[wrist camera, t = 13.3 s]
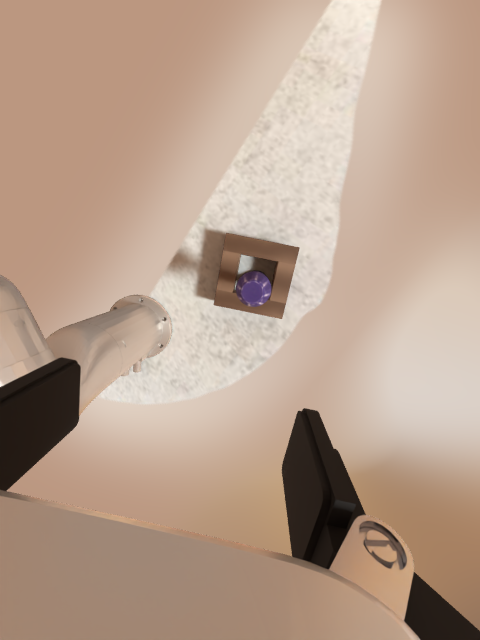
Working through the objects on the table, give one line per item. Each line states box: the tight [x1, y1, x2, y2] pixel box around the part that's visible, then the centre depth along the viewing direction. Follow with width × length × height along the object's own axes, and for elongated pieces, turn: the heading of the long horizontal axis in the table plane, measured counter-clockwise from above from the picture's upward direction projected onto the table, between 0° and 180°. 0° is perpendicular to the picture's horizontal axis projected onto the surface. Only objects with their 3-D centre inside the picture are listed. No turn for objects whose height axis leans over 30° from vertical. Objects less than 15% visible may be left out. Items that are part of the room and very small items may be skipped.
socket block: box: [214, 233, 299, 319], centre depth 42 cm, size 12×12×4 cm
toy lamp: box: [236, 271, 271, 307], centre depth 36 cm, size 5×5×17 cm
